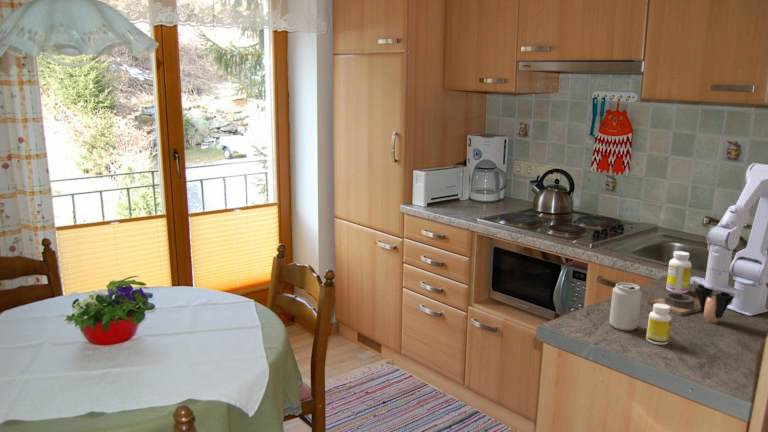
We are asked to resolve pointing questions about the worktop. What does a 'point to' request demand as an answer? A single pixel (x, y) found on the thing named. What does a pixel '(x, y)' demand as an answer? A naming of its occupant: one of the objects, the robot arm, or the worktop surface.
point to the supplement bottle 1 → (659, 324)
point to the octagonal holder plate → (678, 303)
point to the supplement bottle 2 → (679, 273)
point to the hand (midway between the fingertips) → (711, 314)
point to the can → (625, 306)
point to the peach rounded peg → (710, 310)
